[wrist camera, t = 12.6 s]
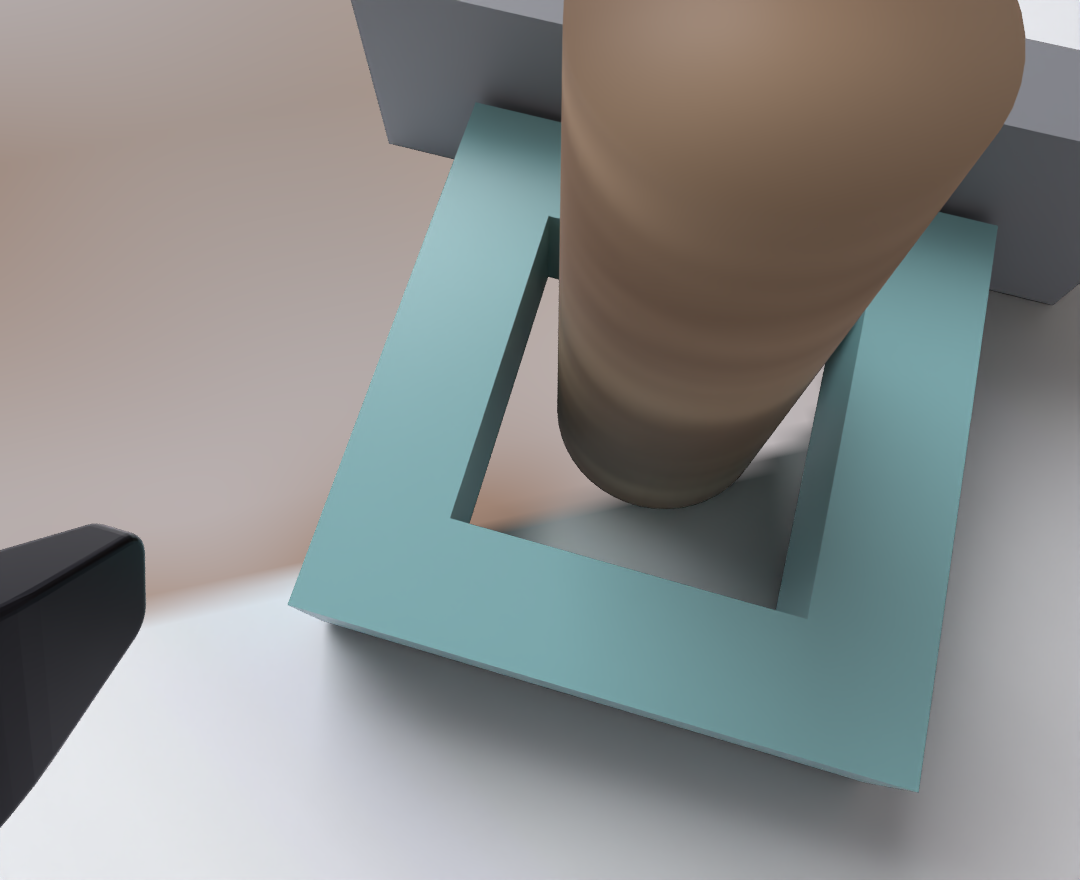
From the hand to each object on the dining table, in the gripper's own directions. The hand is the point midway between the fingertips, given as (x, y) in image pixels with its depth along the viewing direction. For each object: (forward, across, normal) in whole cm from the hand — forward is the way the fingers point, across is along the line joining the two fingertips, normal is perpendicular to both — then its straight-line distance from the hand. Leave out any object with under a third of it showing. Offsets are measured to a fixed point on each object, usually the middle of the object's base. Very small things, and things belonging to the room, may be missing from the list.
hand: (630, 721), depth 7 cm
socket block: (+11, 0, +3) cm, 12 cm away
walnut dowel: (+12, 0, +2) cm, 12 cm away
